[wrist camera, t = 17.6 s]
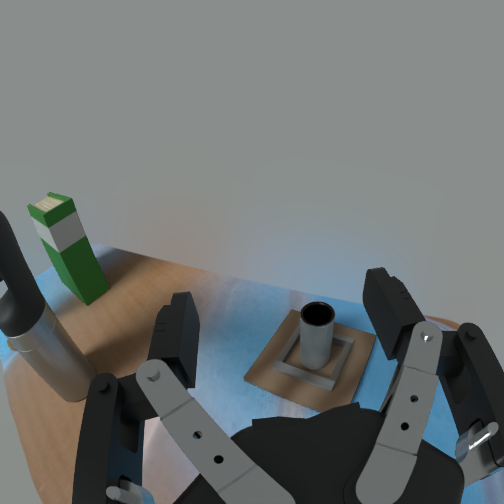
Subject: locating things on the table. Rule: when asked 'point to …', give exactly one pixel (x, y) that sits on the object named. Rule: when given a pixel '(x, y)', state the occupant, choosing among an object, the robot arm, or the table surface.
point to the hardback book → (68, 246)
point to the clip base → (306, 380)
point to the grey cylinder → (316, 334)
